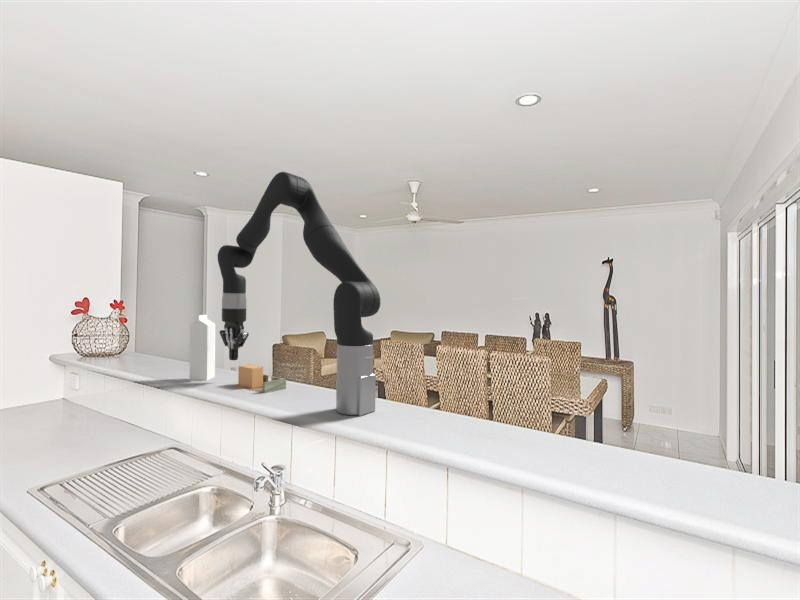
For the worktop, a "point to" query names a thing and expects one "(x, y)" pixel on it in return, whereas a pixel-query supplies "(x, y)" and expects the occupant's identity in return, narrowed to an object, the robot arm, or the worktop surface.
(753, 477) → the worktop surface
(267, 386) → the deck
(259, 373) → the block
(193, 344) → the milk
